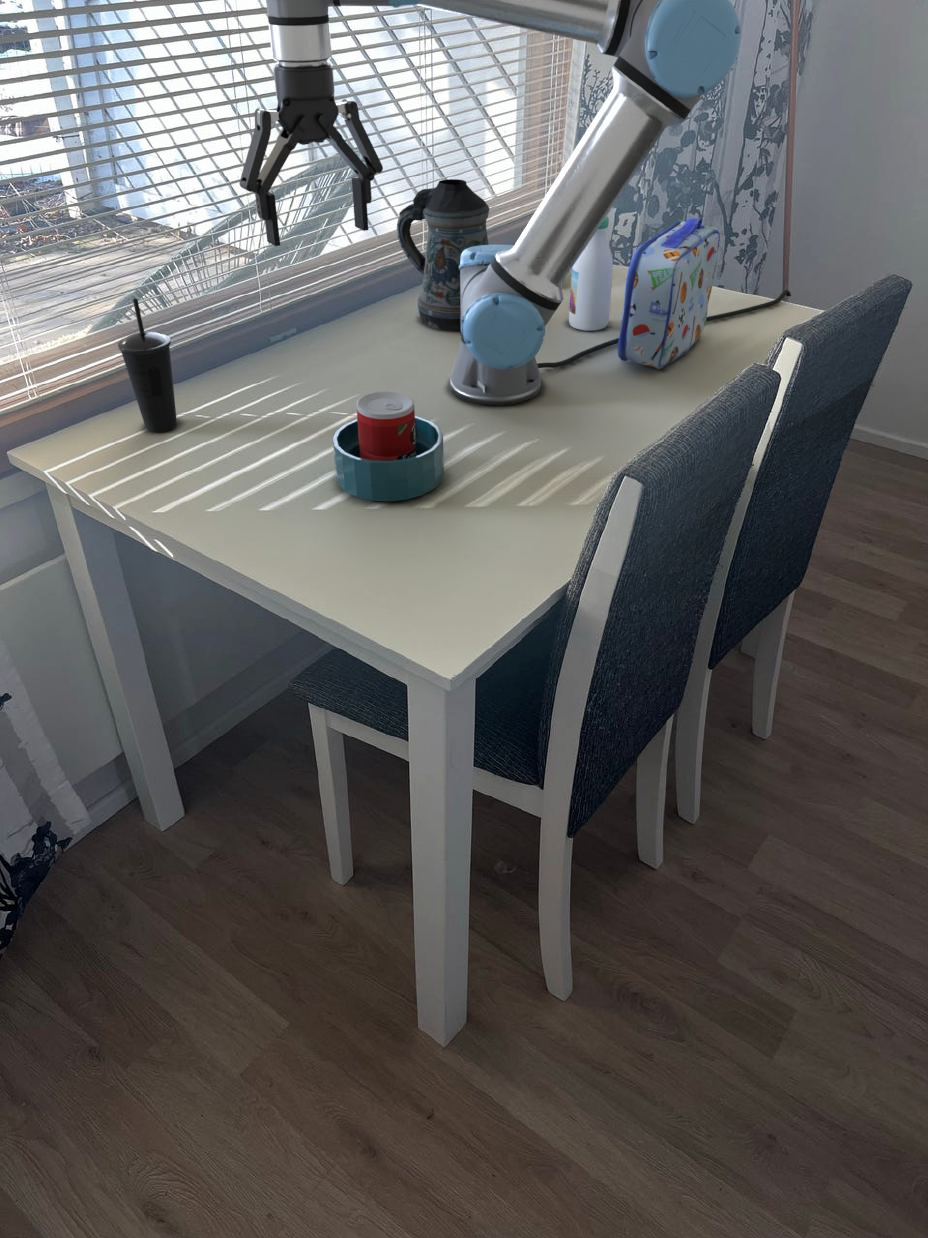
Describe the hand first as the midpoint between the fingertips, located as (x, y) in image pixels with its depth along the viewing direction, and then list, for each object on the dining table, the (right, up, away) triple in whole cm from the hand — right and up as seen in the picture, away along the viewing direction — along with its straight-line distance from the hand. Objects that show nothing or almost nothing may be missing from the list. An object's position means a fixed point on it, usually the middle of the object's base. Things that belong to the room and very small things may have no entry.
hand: (318, 235), depth 135 cm
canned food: (+10, -33, +3) cm, 35 cm away
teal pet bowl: (+10, -34, +3) cm, 35 cm away
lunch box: (+57, -5, +41) cm, 70 cm away
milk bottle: (+45, +3, +52) cm, 69 cm away
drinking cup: (-28, -23, +17) cm, 40 cm away
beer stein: (+18, +6, +56) cm, 59 cm away
